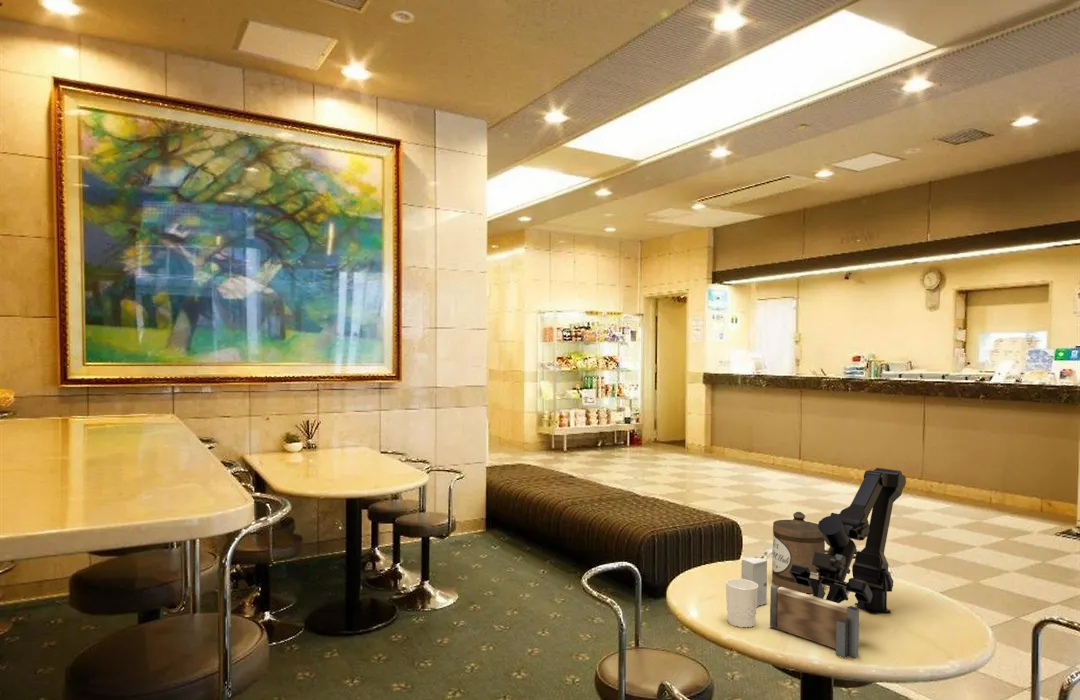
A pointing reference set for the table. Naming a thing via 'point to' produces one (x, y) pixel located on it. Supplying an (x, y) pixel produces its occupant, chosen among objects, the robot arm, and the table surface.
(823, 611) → the gate leaf
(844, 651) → the post
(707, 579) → the table surface
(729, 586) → the white cup
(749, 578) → the skincare box
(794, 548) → the wooden container
